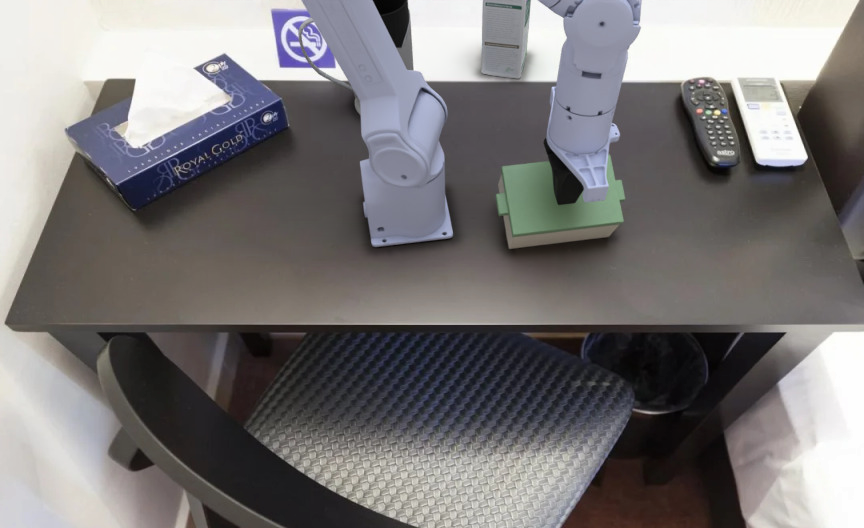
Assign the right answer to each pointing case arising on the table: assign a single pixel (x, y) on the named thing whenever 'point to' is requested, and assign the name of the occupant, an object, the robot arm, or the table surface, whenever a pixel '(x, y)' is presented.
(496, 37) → the syrup box
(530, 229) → the lunchbox
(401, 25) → the glass holder
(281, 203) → the table surface
